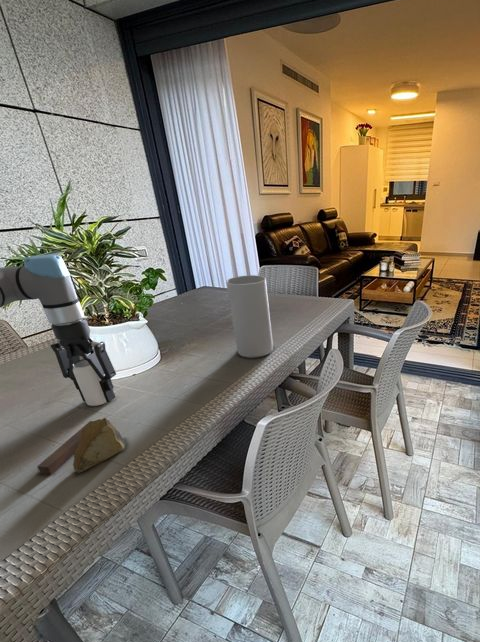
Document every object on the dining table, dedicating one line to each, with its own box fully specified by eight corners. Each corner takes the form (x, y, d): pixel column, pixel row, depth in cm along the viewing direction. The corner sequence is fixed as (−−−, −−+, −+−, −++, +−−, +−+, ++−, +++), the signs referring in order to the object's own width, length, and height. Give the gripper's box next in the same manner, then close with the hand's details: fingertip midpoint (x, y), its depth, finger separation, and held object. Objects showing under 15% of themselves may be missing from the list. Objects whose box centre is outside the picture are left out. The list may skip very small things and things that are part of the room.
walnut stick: (51, 474, 73) (47, 467, 72) (40, 473, 73) (36, 466, 73) (102, 427, 87) (99, 421, 86) (92, 427, 87) (90, 420, 86)
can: (98, 393, 102) (83, 356, 96) (117, 395, 101) (104, 357, 95) (81, 405, 96) (64, 366, 91) (101, 407, 95) (85, 368, 89)
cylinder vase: (230, 355, 122) (217, 282, 110) (251, 342, 132) (242, 274, 120) (260, 361, 117) (250, 286, 105) (279, 346, 127) (273, 276, 115)
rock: (66, 476, 69) (120, 454, 72) (50, 436, 69) (104, 416, 73) (86, 472, 79) (132, 452, 83) (72, 437, 80) (118, 419, 83)
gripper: (113, 316, 89) (139, 393, 100) (45, 315, 92) (77, 391, 103) (93, 326, 83) (123, 408, 94) (20, 325, 85) (58, 405, 96)
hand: (99, 399), depth 98 cm, fingers closed on can, 6 cm apart
